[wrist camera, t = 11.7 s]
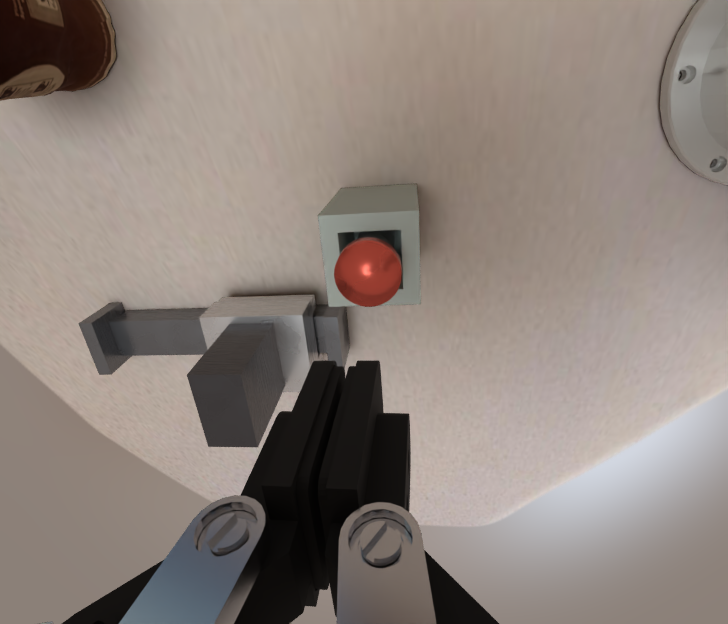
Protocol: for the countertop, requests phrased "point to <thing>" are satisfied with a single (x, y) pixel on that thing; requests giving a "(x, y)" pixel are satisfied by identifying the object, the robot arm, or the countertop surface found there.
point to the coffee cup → (53, 46)
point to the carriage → (251, 363)
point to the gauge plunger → (369, 269)
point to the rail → (184, 334)
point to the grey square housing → (373, 213)
